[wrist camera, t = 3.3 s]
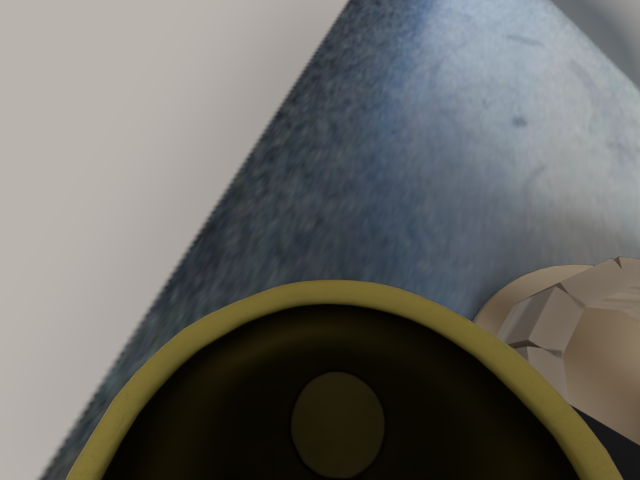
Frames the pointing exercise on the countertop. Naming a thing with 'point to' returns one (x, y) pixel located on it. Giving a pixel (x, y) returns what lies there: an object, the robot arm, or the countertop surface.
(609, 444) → the robot arm
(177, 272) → the countertop surface
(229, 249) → the countertop surface
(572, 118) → the countertop surface
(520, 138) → the countertop surface
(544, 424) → the vase
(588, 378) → the collar stand
